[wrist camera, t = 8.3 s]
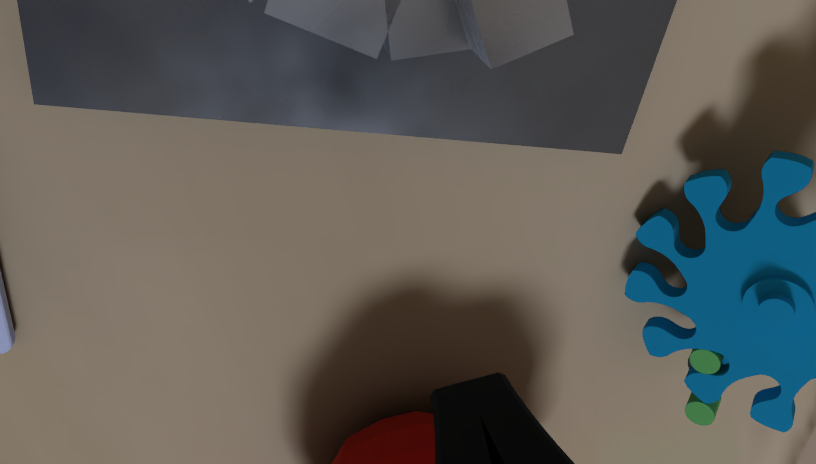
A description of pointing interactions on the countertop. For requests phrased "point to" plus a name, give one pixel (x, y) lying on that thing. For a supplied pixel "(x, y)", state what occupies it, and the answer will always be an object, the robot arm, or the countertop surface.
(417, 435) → the tomato
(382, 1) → the grey block ring
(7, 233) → the countertop surface
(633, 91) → the flange plate
